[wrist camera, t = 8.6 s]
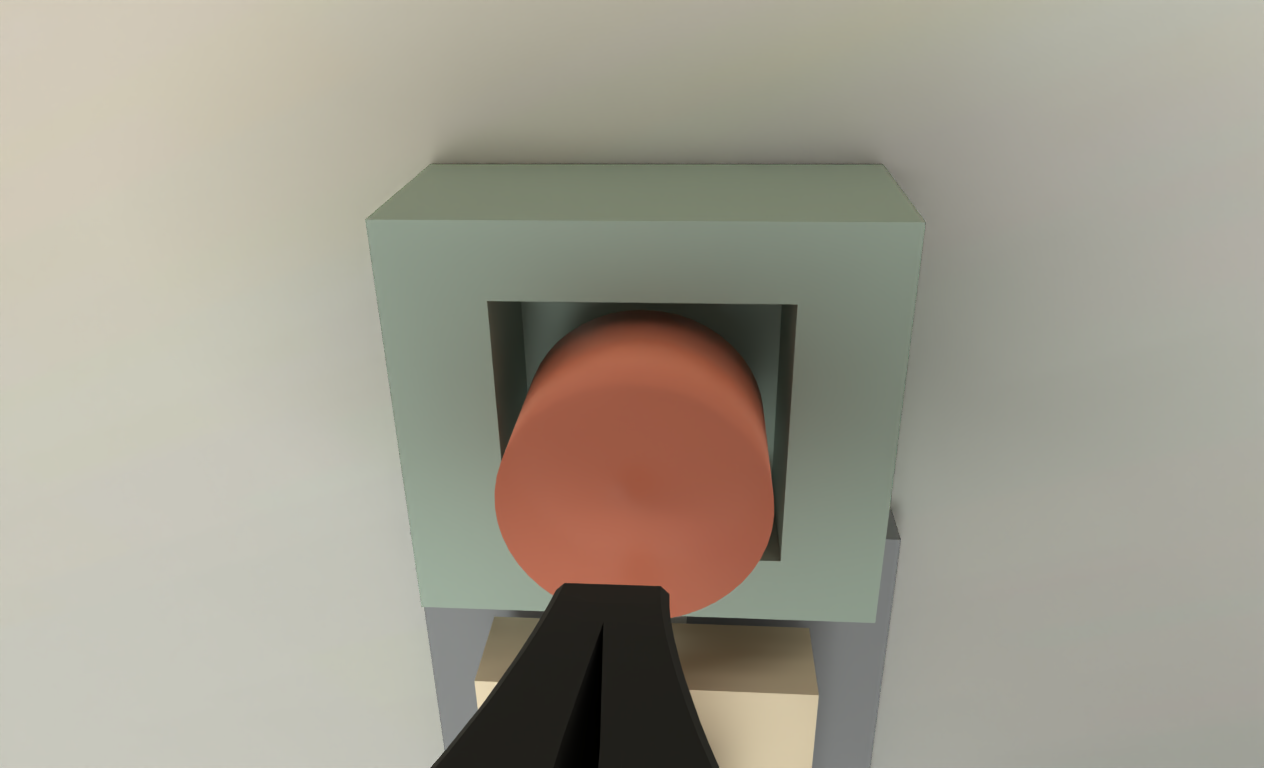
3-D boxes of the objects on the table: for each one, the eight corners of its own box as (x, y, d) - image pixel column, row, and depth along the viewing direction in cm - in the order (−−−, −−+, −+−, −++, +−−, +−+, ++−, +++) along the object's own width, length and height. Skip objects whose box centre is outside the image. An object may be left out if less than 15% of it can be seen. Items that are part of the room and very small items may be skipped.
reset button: (769, 311, 16) (782, 387, 13) (758, 521, 18) (767, 625, 15) (519, 308, 16) (483, 382, 14) (534, 515, 18) (504, 615, 16)
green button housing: (882, 164, 18) (925, 222, 15) (847, 508, 22) (875, 622, 18) (430, 164, 19) (365, 219, 15) (467, 498, 22) (421, 606, 19)
